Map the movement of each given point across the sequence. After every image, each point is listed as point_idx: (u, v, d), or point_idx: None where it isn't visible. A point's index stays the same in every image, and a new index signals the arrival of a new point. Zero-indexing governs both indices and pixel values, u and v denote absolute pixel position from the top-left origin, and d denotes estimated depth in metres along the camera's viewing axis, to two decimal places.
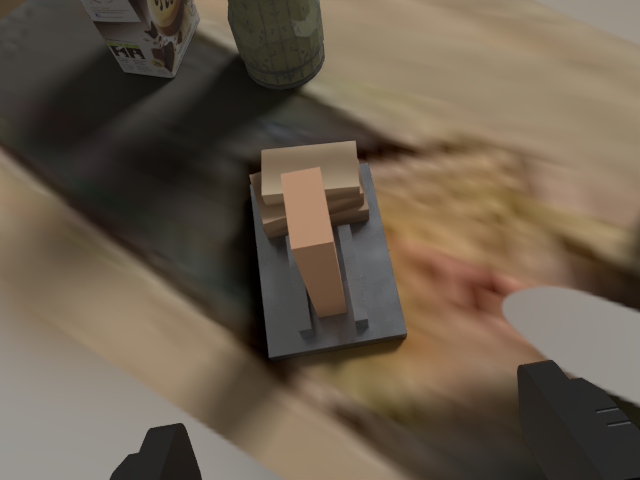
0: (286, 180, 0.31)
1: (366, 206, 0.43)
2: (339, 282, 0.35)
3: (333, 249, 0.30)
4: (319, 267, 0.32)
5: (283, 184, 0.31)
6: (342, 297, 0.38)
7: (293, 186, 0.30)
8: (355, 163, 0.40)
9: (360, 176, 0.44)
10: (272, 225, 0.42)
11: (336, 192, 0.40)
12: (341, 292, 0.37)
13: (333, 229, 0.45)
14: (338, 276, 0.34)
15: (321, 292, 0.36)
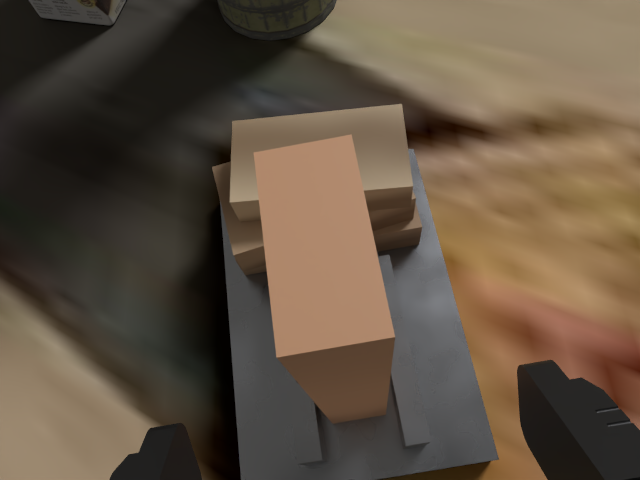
0: (267, 167, 0.12)
1: (417, 222, 0.24)
2: (384, 390, 0.16)
3: (390, 349, 0.11)
4: (348, 377, 0.13)
5: (260, 177, 0.12)
6: (383, 403, 0.19)
7: (285, 183, 0.12)
8: (403, 144, 0.22)
9: None
10: (251, 255, 0.23)
11: (368, 196, 0.22)
12: (384, 399, 0.18)
13: None
14: (385, 384, 0.15)
15: (343, 402, 0.18)
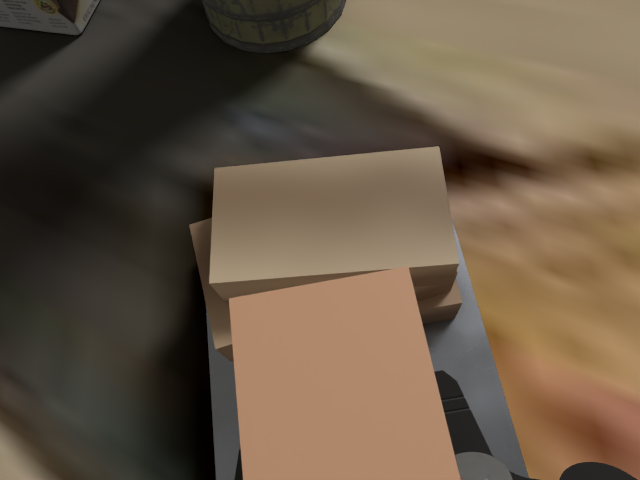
0: (254, 330, 0.07)
1: (456, 296, 0.19)
2: None
3: None
4: None
5: (240, 353, 0.06)
6: None
7: (287, 366, 0.06)
8: (443, 203, 0.16)
9: None
10: None
11: None
12: None
13: None
14: None
15: None
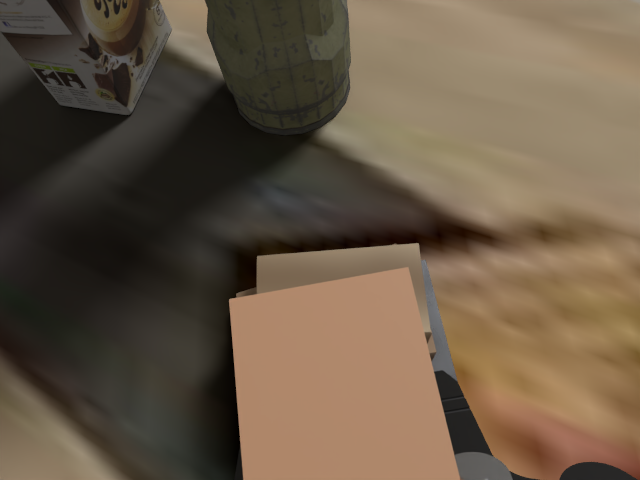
0: (254, 331, 0.07)
1: (432, 347, 0.26)
2: None
3: None
4: None
5: (240, 354, 0.06)
6: None
7: (287, 367, 0.06)
8: (421, 286, 0.23)
9: None
10: None
11: None
12: None
13: None
14: None
15: None
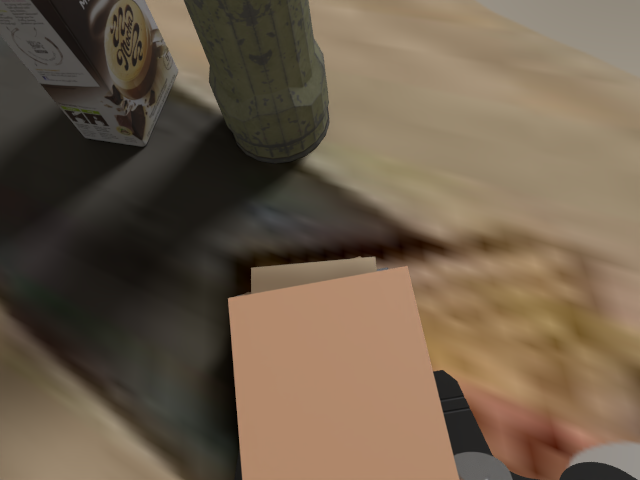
0: (253, 329, 0.07)
1: None
2: None
3: None
4: None
5: (239, 353, 0.07)
6: None
7: (286, 365, 0.06)
8: None
9: None
10: None
11: None
12: None
13: None
14: None
15: None
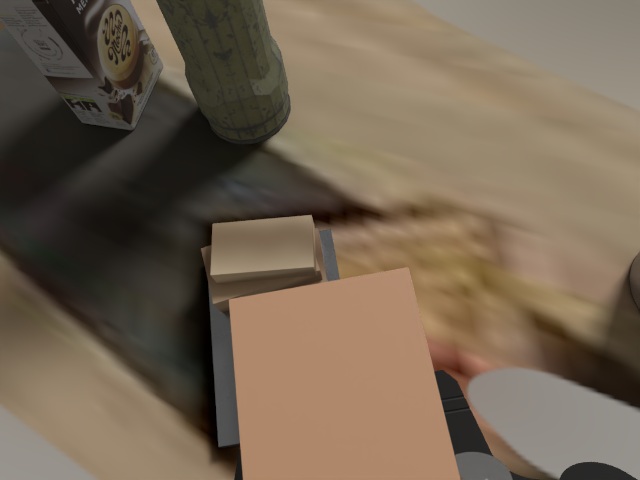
0: (254, 331, 0.07)
1: (325, 281, 0.41)
2: None
3: None
4: None
5: (240, 354, 0.06)
6: None
7: (287, 367, 0.06)
8: (310, 240, 0.38)
9: (319, 247, 0.42)
10: (223, 303, 0.39)
11: (289, 271, 0.38)
12: None
13: None
14: None
15: None
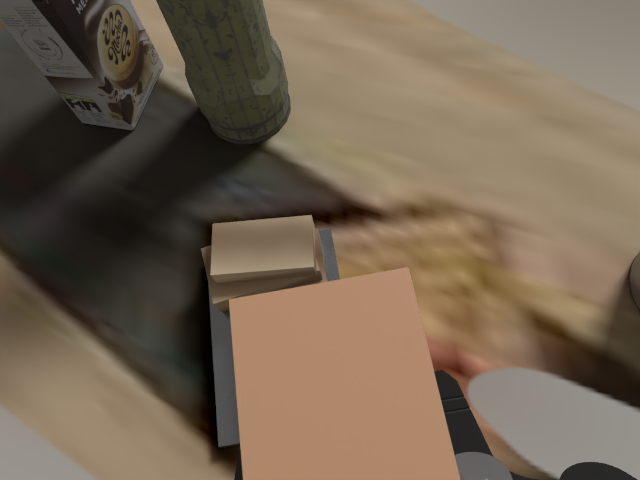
0: (254, 331, 0.07)
1: (325, 281, 0.41)
2: None
3: None
4: None
5: (240, 354, 0.06)
6: None
7: (287, 367, 0.06)
8: (310, 240, 0.38)
9: (319, 247, 0.42)
10: (223, 303, 0.39)
11: (289, 271, 0.38)
12: None
13: None
14: None
15: None
